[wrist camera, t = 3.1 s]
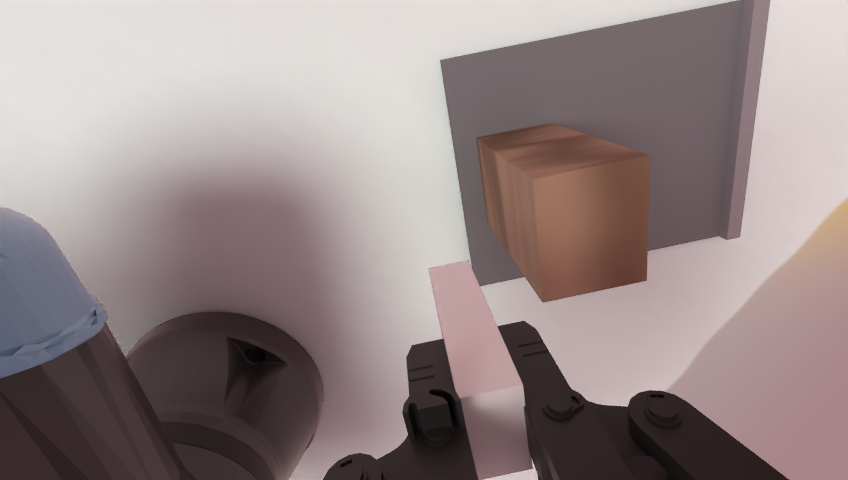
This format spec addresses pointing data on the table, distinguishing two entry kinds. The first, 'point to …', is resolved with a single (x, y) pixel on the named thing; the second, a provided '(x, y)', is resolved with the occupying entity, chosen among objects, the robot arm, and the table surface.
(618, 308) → the table surface
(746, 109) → the mat
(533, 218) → the walnut block
